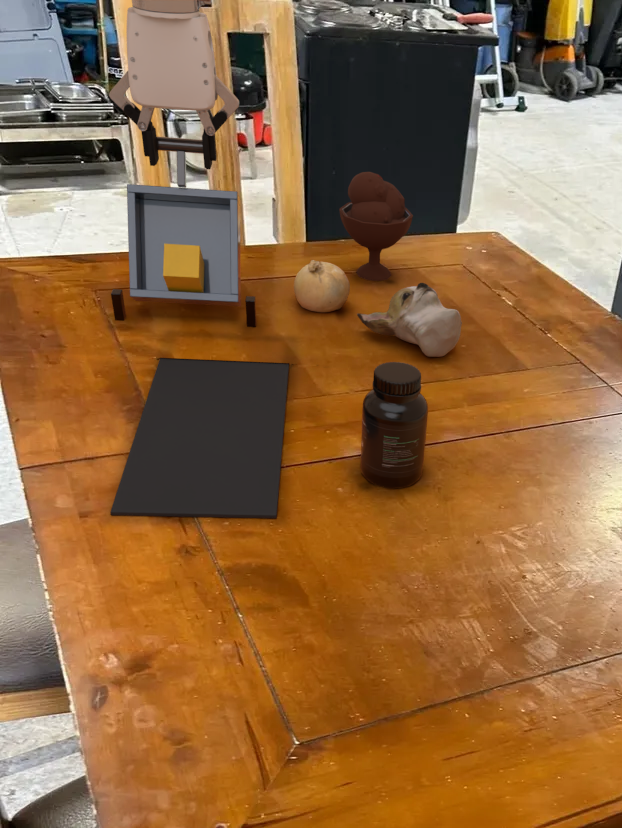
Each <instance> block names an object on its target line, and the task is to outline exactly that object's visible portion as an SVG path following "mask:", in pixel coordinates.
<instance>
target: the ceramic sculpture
mask: <svg viewBox="0 0 622 828" xmlns="http://www.w3.org/2000/svg"><path fill="white" fill-rule="evenodd" d="M356 316H357V318H358V319H359V320H360V321H361V323H362V324H363V325H364V326H366V327H367V328H368V329H369V330H370V331H372V332H373V333H375V334H378V335H382V336H390V337H391V336H392V337H393V336H394V337H396V338H398V339H400V340H401V341H404V342H406V343H409V344H413V345H417V346H419V348H420V351H421V352H422V353H423V354H424V355H425V356H426V357H428V358H442V357H445V356H446V355H447V354H448V353H449V352H451V351H452V350H453V349H454V348H455V347H456V345H457V344H458V342H459V340H460V337H461V331H462V325H463V322H462V316H461V313H460V312H459V310H457V309H454V308H447V307H445V306H444V305H443V304H442V301H441V300H440V298H439V296H438V293H437V291H436V290H435V289H434V288H433V287H431V286H429V285H428V284H427V283H426V282H420V283H418V284H417V285H414V286H413V285H412V286H407V287H403V288H401V289H398V290H397V291H396V292H395V293H394V294H393V295H392V296H391V298H390V301H389V306H388V310H387V311H386V312H382V311H377V312H376V311H375V312H372V313H369V314H366V313H356Z"/></svg>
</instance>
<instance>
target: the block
mask: <svg viewBox="0 0 622 828" xmlns="http://www.w3.org/2000/svg"><path fill="white" fill-rule="evenodd" d="M163 277H164V280H165V282H166V285H167V288H168V291H181V292H199V293H204V260H203V256H202V253H201V249H200V246H195V245H179V244H164V263H163Z"/></svg>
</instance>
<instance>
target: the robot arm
mask: <svg viewBox="0 0 622 828" xmlns="http://www.w3.org/2000/svg"><path fill="white" fill-rule="evenodd" d="M131 4H132V6H130V7H128V8H127V11H126V57H127V71H126V72H125V73H124V75H123V76H122V77H120V79H119V80H118V82H116V84H115V85H114V86H113V87H112V88H111V90H110V91H109V93H108V96H109V98H110V99H111V101H113V102H114V104H115V105H117V106H118V107H119V108H120V109H121V110H122V111H123V112H124V114H125V115H126V116H127V117H128V118H129V119H130V120H131V121H132V122H133V123H134V124H135V125H136V126H137V129H138V130H139V131H140V132H141V141H142V146H143V154H144V157H148V159H149V166H150V167H155V166H156V165H157V164H158V162H159V160H160V155H159V154H160V153H159V150H157V147H156V137H158V136H157V129H156V127H155V125H154V124H153V123H154V122H152V118H153V114H154V111H155V109H163V110H164V109H167V110H176V111H177V110H179V111H190V112H191V111H192V112H193V111H194V112H196V114H197V116H198V119H199V120H200V122H201V125H202V127H203V132H202V136H201V140H202V145H203V154H202V155H203V166H204V169H205V170H211V169H212V166H213V162H217V156H218V155H217V143H216V133H217V132H218V131H219V129H221V127H223V125H224V124H225V123H226V122H227V120H228V119H229V118H230V117H231V116H232V115H233V114H234V113H235V112H236V111H237V109H238V108H239V107H240V100H239V99H238V97H237V96H236V95H235V94H234V92H233V91H231V89H230V88H228V87H227V85H226V84H225V83H224V82H223V81H222V80H221V79H220V78H219V76H218V75H217V66H216V59H215V52H214V44H213V37H212V33H211V28H210V23H209V19H208V16H207V13H204V12H200V8H201V7H202V6H206V5H212V0H131ZM128 90H130V96H131V99H132V101H133V102H132V101H131V100H130V99H129V98H128V97H127V96H126V92H127V91H128ZM218 97H219V98H220V99H221V100H222V101H223V102H224V105H222V107H221V108H220V109H219V110H218V111H217V112H216V113H215V114H214V115H213V112H212V109H213V108H214V107H215V105H216V101H217V100H218ZM136 104H137V105H138V106H141V109H140V108H139V107H138V106H137V105H136Z"/></svg>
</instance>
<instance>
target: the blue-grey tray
mask: <svg viewBox="0 0 622 828" xmlns="http://www.w3.org/2000/svg"><path fill="white" fill-rule="evenodd" d="M156 147H157V150H158V152H159V151H160V152H171V153H172V152H175V153H176V184H177V187H175V186H161V185H149V184H135V183H134V184H133V183H132V184H131V183H127V184H126V201H127V203H126V206H127V208H126V209H127V210H126V211H127V241H128V274H129V276H128V278H129V279H128V280H129V297H130V298H132V300H134V301H135V302H146V303H147V302H149V303H167V304H169V303H170V304H186V305H187V304H189V305H207V306H225V307H226V306H227V307H241V306H242V276H241V275H242V271H241V267H242V265H241V262H242V261H241V259H242V257H241V255H242V253H241V252H242V251H241V199H240V195H239V193H238V191H235V190H222V189H221V190H219V189H205V188H194V187H193V188H192V187H191V188H190V187H187V153H188V154H201V155H203V145H202V139H197V138H195V139H194V138H184V137H183V138H181V137H169V136H157V137H156ZM164 244H179V245H195V246H200V249H201V253H202V256H203V260H204V293H199V292H181V291H168V288H167V285H166V282H165V280H164V277H163V263H164Z"/></svg>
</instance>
